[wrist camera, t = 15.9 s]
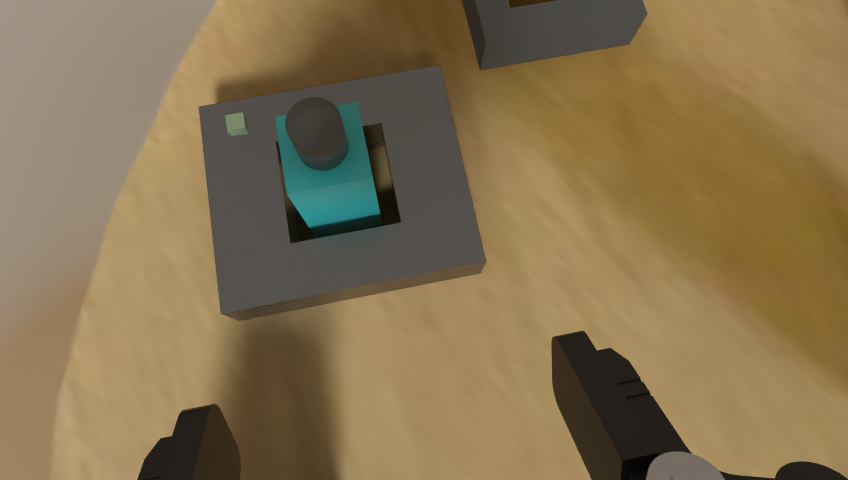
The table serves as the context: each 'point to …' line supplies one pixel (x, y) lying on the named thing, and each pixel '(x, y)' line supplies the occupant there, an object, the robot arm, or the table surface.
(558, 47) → the holster
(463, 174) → the port block
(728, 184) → the table surface
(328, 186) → the plug
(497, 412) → the table surface
